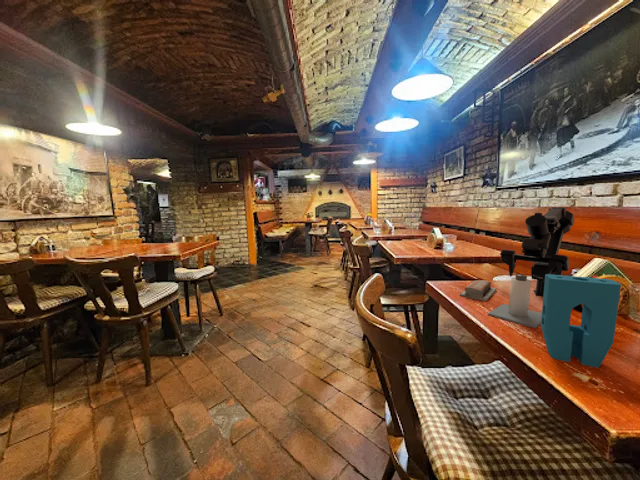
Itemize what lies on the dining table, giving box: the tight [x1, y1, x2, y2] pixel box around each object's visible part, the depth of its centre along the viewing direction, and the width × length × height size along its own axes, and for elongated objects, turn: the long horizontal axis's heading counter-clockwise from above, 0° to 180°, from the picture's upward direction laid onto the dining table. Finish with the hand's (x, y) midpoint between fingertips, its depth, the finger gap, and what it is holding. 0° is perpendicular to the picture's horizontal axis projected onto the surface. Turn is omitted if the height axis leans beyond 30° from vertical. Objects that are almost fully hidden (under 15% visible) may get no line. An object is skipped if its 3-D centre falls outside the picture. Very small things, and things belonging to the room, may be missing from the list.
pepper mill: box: [508, 273, 532, 317], centre depth 85 cm, size 5×5×14 cm
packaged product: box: [459, 279, 497, 302], centre depth 109 cm, size 18×5×10 cm
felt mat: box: [487, 303, 542, 329], centre depth 86 cm, size 14×13×1 cm
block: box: [540, 274, 622, 368], centre depth 61 cm, size 12×5×20 cm, turn 61°
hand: (526, 278), depth 88 cm, fingers open, 9 cm apart
